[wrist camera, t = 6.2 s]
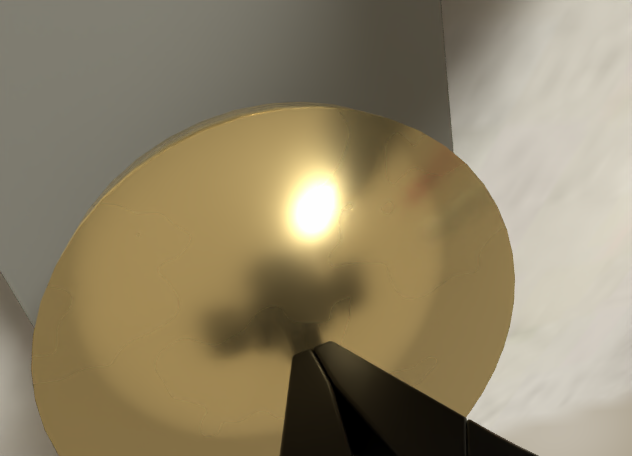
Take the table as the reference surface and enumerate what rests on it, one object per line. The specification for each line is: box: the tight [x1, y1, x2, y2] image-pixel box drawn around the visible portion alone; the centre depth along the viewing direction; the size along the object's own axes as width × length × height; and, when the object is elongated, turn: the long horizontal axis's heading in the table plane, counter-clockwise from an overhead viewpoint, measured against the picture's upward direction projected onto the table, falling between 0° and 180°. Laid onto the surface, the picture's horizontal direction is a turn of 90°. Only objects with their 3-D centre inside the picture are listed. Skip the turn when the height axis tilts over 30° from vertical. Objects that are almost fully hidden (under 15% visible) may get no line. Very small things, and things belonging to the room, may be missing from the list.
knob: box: [31, 102, 515, 456], centre depth 11 cm, size 10×10×5 cm
